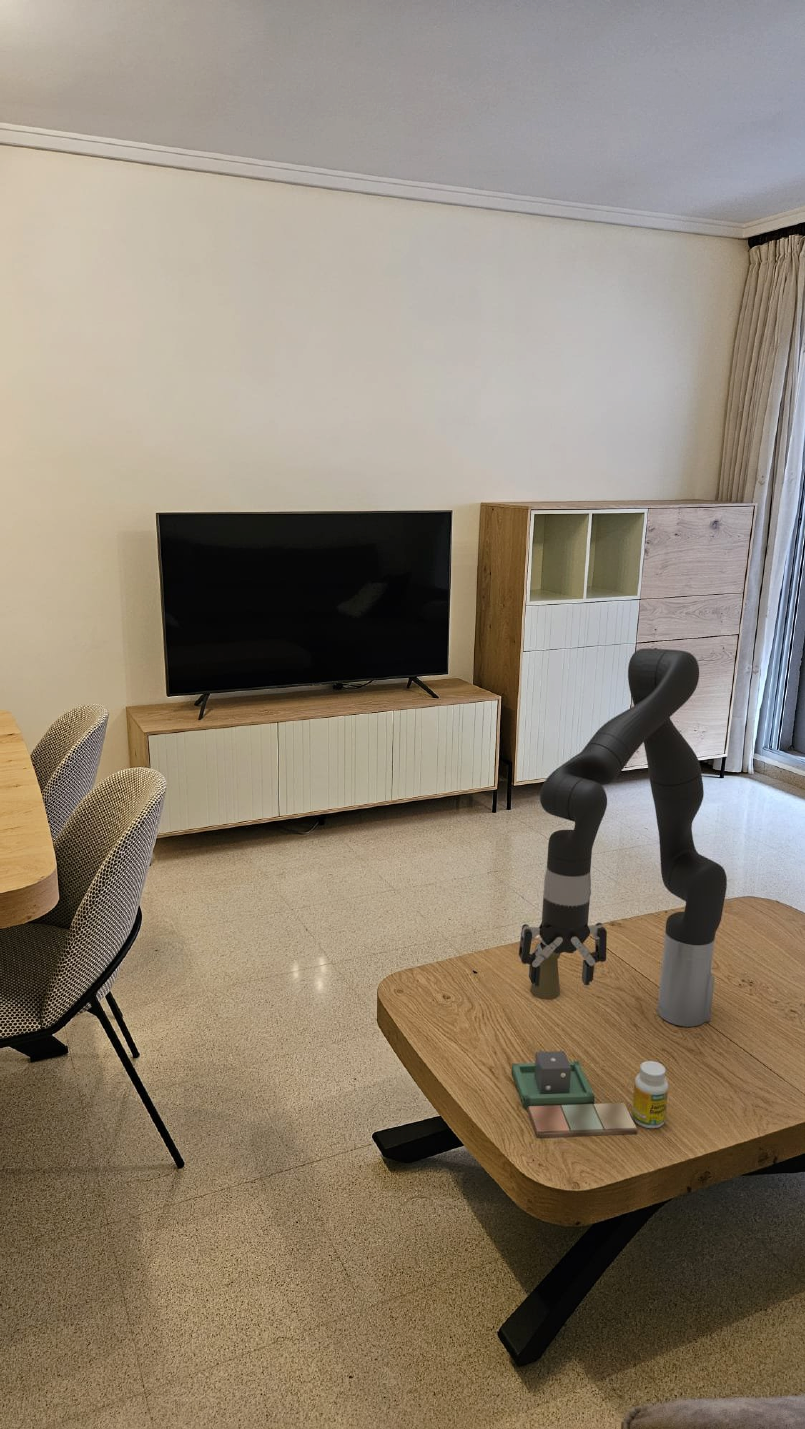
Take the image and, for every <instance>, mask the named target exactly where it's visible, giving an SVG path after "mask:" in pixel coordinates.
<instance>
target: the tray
mask: <svg viewBox="0 0 805 1429" xmlns="http://www.w3.org/2000/svg"><path fill="white" fill-rule="evenodd" d="M568 1062H569V1064H570V1066H571V1078H570V1091H569V1093H566V1094H540V1093H539V1090H538V1087H537V1084H536V1081H535V1078H534V1073H535V1062H519V1063H517V1062H516V1063H512V1064H511V1075H512V1078H513V1081H514V1084H515V1087H516V1090H517V1093H518V1096H519V1099H520V1102H521V1105H522V1108H523V1109H527V1107H529V1106H552V1105H560V1106H561V1105H578V1104H595V1097H596V1096H595V1094H594V1092H593V1089H592V1088H591V1084H590V1083H589V1080H588V1079H587V1077H586V1074H585V1072H584V1070H583V1068H582V1065H581V1063H580V1061H576V1060H575V1061H568Z"/></svg>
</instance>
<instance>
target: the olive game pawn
mask: <svg viewBox="0 0 805 1429" xmlns="http://www.w3.org/2000/svg"><path fill="white" fill-rule="evenodd" d="M539 942H540V940H539V941H538V942H537V943H536V944H535V947H534V949H535V948H536V946H537V944H538V943H539ZM561 954H562V953H556V954H555V952H552V953H551V954H550V955H549V957H548V958H545V959H544V960H543V961H542V962H541V963H540V965H539V966H540V979H539V987H534V985H533V983H531V984H530V989H529V990H530V994H531V995H532V996H533V997H535V998H537V999H540V1000H546V1001H547V1000H548V1001H549V1000H555V999H556V998H558V997H559V996H560V994H561V989H560V976H559V963H558V960H559V958H560V956H561Z"/></svg>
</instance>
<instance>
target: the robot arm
mask: <svg viewBox="0 0 805 1429" xmlns="http://www.w3.org/2000/svg"><path fill="white" fill-rule="evenodd" d="M627 679H628V680H627V682H628V687H629V688H628V689H629V693H630V696H631V699H632V703H633V706H632V707H630V708H629V709H626V710H625V711H623V712H620V714H618V715H616V716H614V717H612V718H611V719H610V720H608V721H607V722H605V723H604V724H603V725H602V726H601V727H600V728H599V729H597V731H596V732H595V733H594V734H593V735H592V737H591V738H590V740H589V741H588V742H587V743H586V745H585V746H584V747H583V749H582V750H581V752H579V753H577V754H576V755H574V756H573V757H571V758H570V759H568V760H567V761H566V762H565V763H563V764H561V765H560V766H558V767H557V768H556V769H555V770H554V771H552V772H551V773H550V775H549V776H548V777H547V778H546V779H545V780H544V783H543V785H542V787H541V789H540V794H539V800H540V801H539V802H540V805H541V807H542V809H543V810H544V811H545V812H546V813H547V814H549V815H551V816H554V817H557V818H561V819H564V820H567V821H571V822H574V827H573V829H559V830H556V831H554V832H552V833H551V835H550V836H549V839H548V843H547V844H548V846H547V857H546V858H547V859H546V861H547V862H546V870H545V876H544V880H543V881H544V882H543V895H542V896H543V898H542V910H541V922H540V925H539V927H538V926H529V925H528V924H526V923H525V924H523V925H522V926H521V930H520V941H519V947H518V956H519V958H520V961H521V963H522V964H523V965H526V964H527V965H529V969H528V978H529V981H530V983H531V984H532V983H533V985H534V987H539V979H540V966H539V965H540V963H541V962H542V961H543V960H544V959H545V958H548V957H549V955H550V954H551V953H552V952H555V954H556V953H561V954H562V953H566V954H574V952H578V953H579V954H580V955H581V956H582V958H583V960H582V971H581V981H582V983H583V985H584V986H589V985H590V982H591V983H592V982H593V980H594V973H595V965H596V964H597V963H599V962H601V963H605V961H606V960H607V937H608V933H607V929H606V928H605V927H604V925H603V923H601V922H597V923H596V924H595V925H590V926H589V917H590V916H589V913H590V904H591V903H590V901H591V895H592V888H591V887H592V877H591V876H592V875H591V867H592V865H591V864H592V857H593V856H592V855H593V848H594V843H595V840H596V837H597V835H598V831H599V829H600V827H601V826H600V825H601V824H602V821H603V818H604V815H605V814H606V812H607V806H608V796H607V793H606V790H605V788H604V787H603V785H608V784H609V785H610V784H611V783H613V782H614V781H615V780H616V779H617V777H618V776H619V775H620V773H621V772H622V771H623V770H624V768H625V767H626V765H627V764H628V762H630V759H631V758H632V757H633V756H634V755H635V753H636V752H637V751H638V749H639V748H640V747H641V746H642V745H643V746H644V751H645V752H644V753H645V757H646V762H647V769H648V778H649V783H650V790H651V795H652V799H653V803H654V804H653V805H654V810H655V818H656V823H657V830H658V837H659V838H658V839H659V841H658V842H659V859H660V873H661V878H662V883H663V885H664V887H665V888H666V889H667V891H668V892H670V894H672V895H674V896H675V897H677V898H679V899H681V900H683V901H684V902H685V907H684V911H677V912H674V913H672V914H670V915H668V917H667V918H666V921H665V931H664V941H663V951H662V952H663V953H662V963H661V970H660V971H661V972H660V979H659V980H660V982H659V992H658V999H657V1000H658V1001H657V1013H658V1015H659V1016H660V1017H661V1018H662V1019H663V1020H665V1021H666V1022H668V1023H670V1024H672V1025H675V1026H680V1027H688V1028H689V1027H698V1026H700V1025H702V1024H703V1023H709V1022H711V1015H712V1014H711V1013H712V1005H713V997H714V987H715V976H714V975H713V974H712V967H713V957H714V948H715V947H714V946H715V941H716V940H715V938H716V934H717V931H718V929H719V928H720V927H719V926H720V924H721V921H722V916H723V911H724V905H725V899H726V893H727V886H728V879H727V878H728V877H727V873H726V870H725V869H724V867H723V866H722V865H720V863H717V862H715V861H714V860H712V859H710V858H708V857H706V856H704V855H702V854H701V853H698V851H697V849H696V846H695V843H694V837H693V836H694V835H693V822H694V819H695V818H696V815H697V814H698V812H699V810H700V808H701V805H702V803H703V801H704V796H705V795H704V794H705V792H704V790H705V789H704V783H703V777H702V776H703V775H702V768H701V765H700V764H701V763H700V760H699V759H698V756H697V754H696V753H695V751H694V749H693V747H691V745H690V743H689V742H688V741H687V740H686V739H685V738H684V736H683V735H682V733H681V732H680V730H678V728H677V727H676V726H675V724H674V723H673V721H672V718H671V717H672V716H673V715H674V714H675V713H676V712H678V710H679V709H680V708H681V707H683V706H684V705H685V704H686V703H687V701H689V700H690V698H691V697H692V696H693V695H694V692H695V691H696V689H697V687H698V684H699V679H700V667H699V662H698V659H696V657H695V656H694V654H692V653H690V652H688V651H685V650H681V649H680V650H679V649H666V648H651V647H650V648H647V647H646V648H640V649H638V650H636V651H635V652H634V653H633V654H632V655H631V657H630V660H629V662H628V668H627ZM590 935H592V938H593V939H594V944H595V945H594V951H593V952H590V951H589V949H588V947H587V946H586V945H585V942H586V940H587V939H588V938H589V937H590ZM538 936H539V937H540V938H541V939H540V940H539V941H540V942H539V941H538V942H539V943H538V942H537V943H538V944H537V943H536V944H537V946H536V945H535V946H536V948H535V947H534V949H533V951H531V948H532V947H531V946H532V942H534V940H535V939H536V937H538Z"/></svg>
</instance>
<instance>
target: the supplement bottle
mask: <svg viewBox="0 0 805 1429" xmlns="http://www.w3.org/2000/svg"><path fill="white" fill-rule="evenodd" d="M639 1066H640V1068H639V1073H638V1074H637V1075H636V1076H635V1078H634V1088H633V1098H632V1108H631V1109H632V1110H631V1111H632V1112H631V1115H632V1116H631V1118H632V1120H633V1122H634V1123H636V1124H638V1125H639V1126H641V1127H643V1128H646V1129H658V1128H660V1127H662V1126H663V1125H664V1124H665V1120H666V1114H667V1104H668V1103H667V1102H668V1094H669V1083H668V1080H667V1079H666V1067H665V1066H664V1065H663V1064H661V1063H660V1062H658V1061H657V1062H656V1061H651V1060H648V1061H643V1062H642V1063H640V1065H639Z"/></svg>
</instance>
